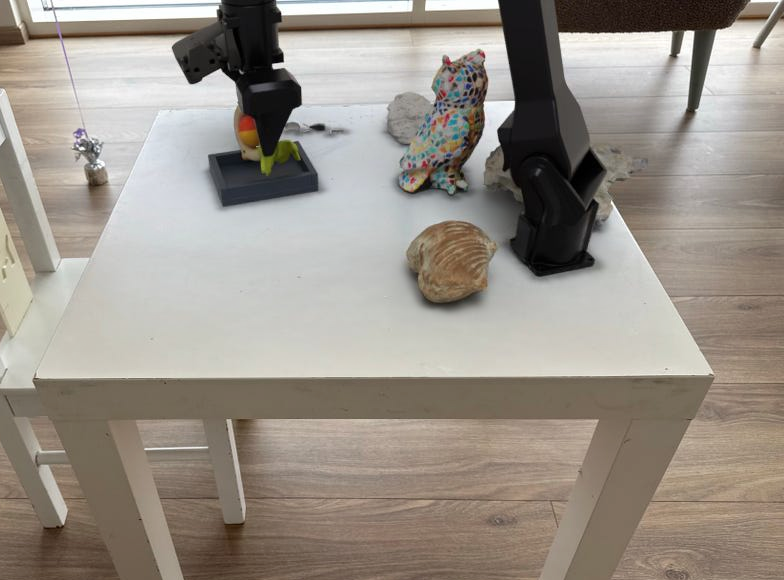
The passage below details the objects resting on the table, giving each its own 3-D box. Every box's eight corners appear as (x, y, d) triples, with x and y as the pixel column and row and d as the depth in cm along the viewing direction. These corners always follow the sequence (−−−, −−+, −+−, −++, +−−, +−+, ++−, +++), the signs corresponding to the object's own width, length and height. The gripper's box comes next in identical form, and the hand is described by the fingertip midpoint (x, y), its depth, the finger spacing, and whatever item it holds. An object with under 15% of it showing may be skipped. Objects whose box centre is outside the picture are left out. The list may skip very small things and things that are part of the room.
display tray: (299, 157, 94) (298, 140, 93) (318, 190, 88) (317, 173, 86) (210, 171, 92) (207, 154, 91) (222, 206, 86) (220, 189, 84)
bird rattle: (231, 185, 89) (277, 178, 82) (197, 93, 85) (242, 78, 78) (269, 167, 93) (315, 159, 86) (237, 77, 88) (284, 61, 81)
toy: (343, 132, 98) (345, 124, 99) (284, 125, 99) (286, 117, 100) (342, 141, 99) (344, 132, 100) (283, 133, 100) (286, 125, 101)
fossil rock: (463, 171, 87) (514, 247, 77) (478, 126, 83) (533, 199, 73) (612, 174, 92) (678, 246, 82) (632, 132, 88) (704, 201, 78)
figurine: (415, 157, 93) (423, 33, 83) (485, 169, 90) (502, 43, 80) (390, 188, 87) (396, 60, 77) (464, 203, 84) (480, 71, 74)
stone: (413, 136, 92) (369, 92, 97) (407, 166, 96) (365, 122, 101) (475, 115, 95) (430, 73, 100) (466, 144, 99) (423, 103, 104)
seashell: (475, 263, 77) (399, 263, 76) (489, 202, 72) (408, 201, 72) (499, 315, 69) (415, 316, 69) (515, 251, 65) (426, 250, 64)
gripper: (160, -18, 82) (181, 118, 92) (183, 36, 68) (205, 188, 78) (258, -29, 83) (268, 105, 94) (300, 22, 70) (306, 172, 80)
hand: (260, 140), depth 87 cm, fingers closed on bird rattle, 8 cm apart
